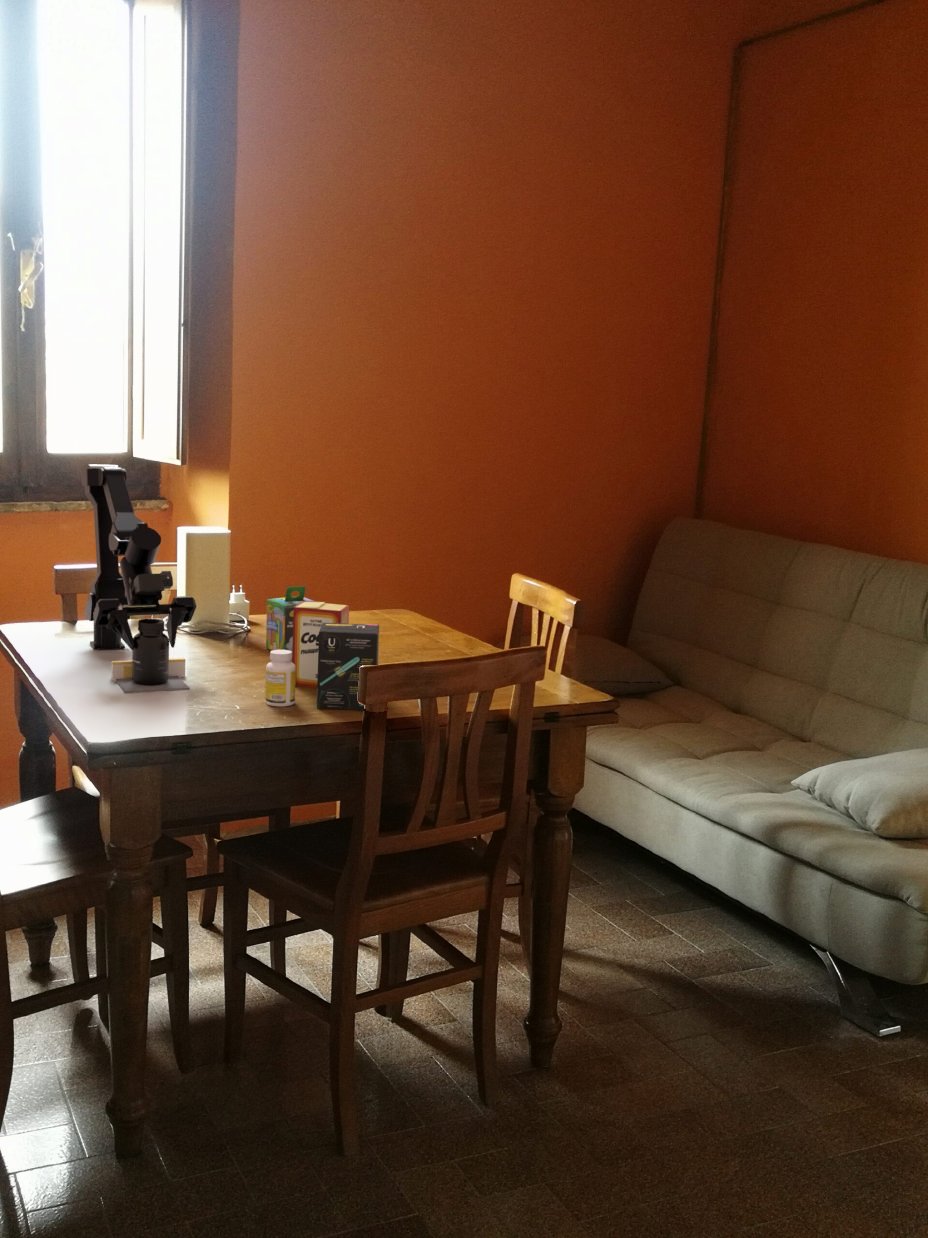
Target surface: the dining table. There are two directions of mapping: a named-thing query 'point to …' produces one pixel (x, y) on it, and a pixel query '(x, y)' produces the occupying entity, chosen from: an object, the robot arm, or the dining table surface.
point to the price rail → (125, 668)
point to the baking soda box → (312, 636)
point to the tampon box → (344, 662)
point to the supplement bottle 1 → (150, 653)
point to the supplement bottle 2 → (280, 679)
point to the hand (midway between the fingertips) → (153, 647)
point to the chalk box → (282, 619)
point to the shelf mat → (171, 684)
